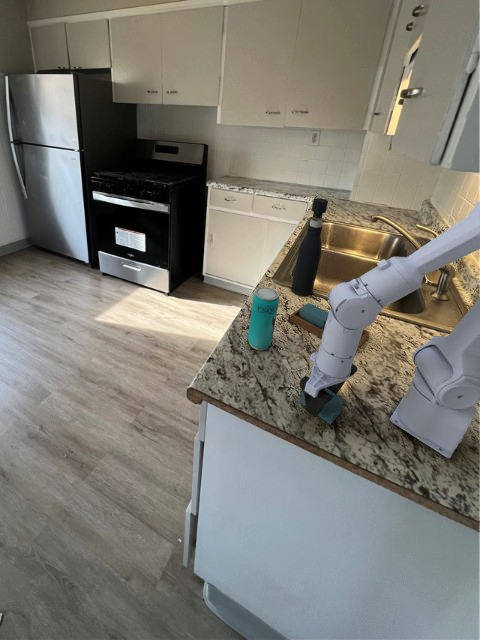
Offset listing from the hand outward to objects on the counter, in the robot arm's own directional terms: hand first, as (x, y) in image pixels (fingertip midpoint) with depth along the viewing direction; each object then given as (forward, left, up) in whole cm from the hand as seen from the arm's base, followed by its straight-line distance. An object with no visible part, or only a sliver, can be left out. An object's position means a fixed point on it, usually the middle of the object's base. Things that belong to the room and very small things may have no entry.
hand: (321, 401), depth 61 cm
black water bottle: (+26, -36, -2) cm, 44 cm away
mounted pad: (+15, -24, -1) cm, 28 cm away
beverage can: (+19, -5, -2) cm, 20 cm away
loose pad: (0, 0, -1) cm, 1 cm away
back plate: (+11, -24, -1) cm, 26 cm away
